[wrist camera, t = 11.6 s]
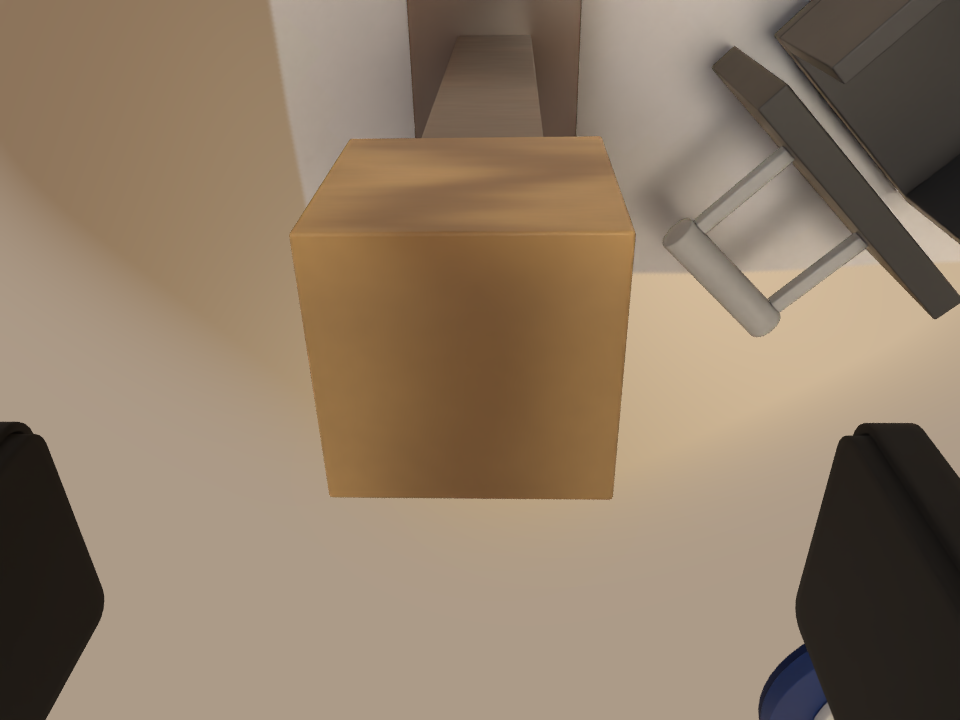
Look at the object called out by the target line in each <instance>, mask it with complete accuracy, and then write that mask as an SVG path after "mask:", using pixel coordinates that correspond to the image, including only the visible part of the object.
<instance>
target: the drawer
mask: <svg viewBox="0 0 960 720" xmlns="http://www.w3.org/2000/svg"><path fill="white" fill-rule="evenodd" d="M775 37H776V39H777V40H778V41H779V42H780V44H781V45H782V46H783V47H784V49H785V50H786V51H787V52H788V54H789V55H790V56H791V57H792V59H793V60H794V61H795V62H796V64H797V65H798V66H799V67H800V69H801V70H802V71H803V72H804V74H805V75H806V76H807V77H808V79H809V80H810V81H811V82H812V84H813V85H814V86H815V87H816V89H817V90H818V91H819V92H820V94H821V95H822V96H823V97H824V99H825V100H826V101H827V102H828V104H829V105H830V106H831V107H832V109H833V110H834V111H835V112H836V114H837V115H838V116H839V117H840V119H841V120H842V121H843V122H844V124H845V125H846V126H847V127H848V129H849V130H850V131H851V132H852V134H853V135H854V136H855V137H856V139H857V140H858V141H859V142H860V144H861V145H862V146H863V148H864V149H865V150H866V151H867V153H868V154H869V155H870V156H871V158H872V159H873V160H874V161H875V163H876V164H877V165H878V166H879V168H880V169H881V170H882V171H883V173H884V174H885V175H886V176H887V178H888V179H889V180H890V181H891V183H892V184H893V185H894V186H895V188H896V189H897V190H898V191H899V193H900V194H901V195H902V196H903V198H904V199H905V200H906V201H907V202H908V203H909V204H911V205H912V206H913V207H914V208H915V209H917V210H918V211H919V212H920V213H922V214H923V215H924V216H925V217H927V218H928V219H929V220H930V221H932V222H933V223H934V224H935V225H937V226H938V227H939V228H940V229H942V230H943V231H944V232H945V233H947V234H948V235H949V236H950V237H952V238H953V239H954V240H955V241H957V242H958V243H959V244H960V0H812V1H810V2H809V3H808V4H807V5H806V6H805V7H804V8H803V9H802V10H801V11H800V12H798V13H797V14H796V15H795V16H794V17H793V18H792V19H791V20H790V21H789V22H787V23H786V24H785V25H784V26H783V27H782V28H781V29H780V30H779V31H778V32H777V33H775ZM712 69H713V70H714V72H715V73H716V74H717V75H718V76H719V77H720V79H721V80H722V81H723V82H724V83H725V84H726V86H727V87H728V88H729V89H730V90H731V92H732V93H733V94H734V95H735V96H736V97H737V99H738V100H739V101H740V102H741V103H742V104H743V106H744V107H745V108H746V109H747V110H748V111H749V113H750V114H751V115H752V116H753V117H754V119H755V120H756V121H757V122H758V123H759V124H760V126H761V127H762V128H763V129H764V130H765V131H766V133H767V134H768V135H769V136H770V137H771V139H772V140H773V141H774V142H775V143H776V144H777V146H778V147H779V149H777V150H776V151H775V152H774V153H773V154H771V155H770V156H769V157H768V158H767V159H766V160H764V161H763V162H762V163H761V164H760V165H758V166H757V167H756V168H755V169H754V170H753V171H751V172H750V173H749V174H748V175H747V176H745V177H744V178H743V179H742V180H741V181H739V182H738V183H737V184H736V185H735V186H734V187H732V188H731V189H730V190H729V191H728V192H726V193H725V194H724V195H723V196H722V197H721V198H719V199H718V200H717V201H716V202H715V203H713V204H712V205H711V206H710V207H709V208H708V209H706V210H705V211H704V212H703V213H702V214H700V215H699V216H698V217H697V218H696V219H695V220H694V221H695V222H694V221H693V220H692V219H689V218H686V219H683V220H681V221H679V222H678V223H676V224H675V225H674V226H673V227H672V228H670V230H669V231H668V232H667V233H666V235H665V236H664V238H663V246H664V247H665V248H666V249H667V250H668V251H669V252H670V253H671V254H672V255H673V256H674V257H675V258H676V259H677V260H678V261H679V262H680V263H681V264H682V265H683V266H684V267H685V268H686V269H687V270H688V271H689V272H690V273H691V274H692V275H693V276H694V278H696V280H697V281H698V282H699V283H700V284H701V285H702V286H703V287H705V289H706V290H707V291H708V292H709V293H710V294H711V295H712V296H713V297H714V298H715V299H716V300H717V301H718V302H719V303H720V304H721V305H722V306H723V307H724V308H725V309H726V310H727V311H728V312H729V313H730V314H731V315H732V316H733V317H734V318H735V319H736V320H737V321H738V322H739V323H740V324H741V325H742V326H743V327H744V328H745V329H746V330H747V332H748V333H749V334H750V335H751V336H754V337H761V336H764V335H766V334H767V333H769V332H771V331H772V330H773V329H774V328H775V327H776V326H777V324H778V323H779V321H780V313H779V312H781V311H782V310H784V309H785V308H786V307H788V306H789V305H791V304H792V303H793V302H795V301H796V300H797V299H799V298H800V297H801V296H803V295H804V294H805V293H807V292H808V291H809V290H811V289H812V288H813V287H815V286H816V285H817V284H819V283H820V282H821V281H823V280H824V279H825V278H827V277H828V276H829V275H831V274H832V273H833V272H835V271H836V270H837V269H839V268H840V267H841V266H843V265H844V264H845V263H847V262H848V261H850V260H851V259H852V258H854V257H855V256H856V255H858V254H859V253H860V252H862V251H863V250H864V249H866V250H867V251H868V252H869V253H870V254H871V255H872V256H873V257H874V258H875V259H876V260H877V261H878V262H879V263H880V264H881V265H882V266H883V267H884V268H885V269H886V270H887V271H888V272H889V273H890V274H891V275H892V276H893V277H894V279H895V280H897V282H899V284H900V285H901V286H902V287H903V288H904V289H905V290H906V291H907V292H908V293H909V294H910V295H911V296H912V297H913V298H914V299H915V300H916V301H917V302H918V303H919V304H920V305H921V306H922V307H923V308H924V310H925V311H927V313H928V314H929V315H930V316H931V317H932V318H933V319H937V318H939V317H940V316H942V315H943V314H945V313H946V312H948V311H949V310H950V309H952V308H954V307H955V306H956V305H958V304H959V303H960V295H959V294H958V293H957V292H956V290H955V289H954V288H953V287H952V286H951V284H950V283H949V282H948V281H947V279H946V278H945V277H944V276H943V274H942V273H941V272H940V271H939V270H938V268H937V267H936V266H935V265H934V263H933V262H932V261H931V260H930V259H929V257H928V256H927V255H926V254H925V252H924V251H923V250H922V249H921V247H920V246H919V245H918V244H917V243H916V241H915V240H914V239H913V238H912V236H911V235H910V234H909V233H908V231H907V230H906V229H905V228H904V227H903V225H902V224H901V223H900V222H899V220H898V219H897V218H896V217H895V215H894V214H893V213H892V212H891V211H890V209H889V208H888V207H887V206H886V204H885V203H884V202H883V201H882V200H881V198H880V197H879V196H878V195H877V193H876V192H875V191H874V190H873V188H872V187H871V186H870V185H869V184H868V182H867V181H866V180H865V179H864V177H863V176H862V175H861V174H860V172H859V171H858V170H857V169H856V168H855V166H854V165H853V164H852V163H851V161H850V160H849V159H848V158H847V157H846V155H845V154H844V153H843V152H842V150H841V149H840V148H839V147H838V145H837V144H836V143H835V142H834V141H833V139H832V138H831V137H830V136H829V134H828V133H827V132H826V131H825V129H824V128H823V127H822V126H821V125H820V123H819V122H818V121H817V120H816V118H815V117H814V116H813V115H812V113H811V112H810V111H809V110H808V109H807V107H806V106H805V105H804V104H803V102H802V101H801V100H800V99H799V98H798V96H797V95H796V94H795V93H794V91H793V90H792V89H791V88H790V86H789V85H788V84H786V83H785V82H784V81H782V80H781V79H779V78H778V77H777V76H775V75H774V74H773V73H771V72H770V71H768V70H767V69H766V68H764V67H763V66H762V65H760V64H759V63H757V62H756V61H755V60H753V59H752V58H750V57H749V56H748V55H746V54H745V53H744V52H742V51H741V50H739V49H738V48H737V47H735V46H734V47H733V48H732V49H731V50H729V51H728V52H727V53H726V54H725V55H724V56H723V57H722V58H721V59H720V60H719V61H718V62H717V63H715V64H714V65H713V66H712ZM791 163H793V164H794V166H795V167H796V168H797V169H798V170H799V171H800V173H801V174H802V175H803V176H804V177H805V179H806V180H807V181H808V182H809V183H810V184H811V186H812V187H813V188H814V189H815V190H816V191H817V193H818V194H819V195H820V196H821V197H822V198H823V200H824V201H825V202H826V203H827V204H828V206H829V207H830V208H831V209H832V210H833V211H834V213H835V214H836V215H837V216H838V217H839V218H840V220H841V221H842V222H843V223H844V224H845V226H846V227H847V228H848V229H849V230H850V231H851V233H852V235H851V236H849V237H848V238H847V239H846V240H844V241H843V242H842V243H840V244H839V245H838V246H836V247H835V248H834V249H832V250H831V251H830V252H828V253H827V254H826V255H824V256H823V257H822V258H821V259H819V260H818V261H817V262H815V263H814V264H813V265H811V266H810V267H809V268H807V269H806V270H805V271H803V272H802V273H801V274H799V275H798V276H797V277H796V278H794V279H793V280H792V281H790V282H789V283H788V284H786V285H785V286H784V287H782V288H781V289H780V290H778V291H777V292H776V293H774V294H773V295H772V296H771V297H769V298H768V299H769V301H770V302H769V301H768V299H767V298H766V297H765V296H764V295H763V294H762V293H761V292H760V291H759V290H758V289H757V288H756V287H755V286H754V285H753V284H752V283H751V282H750V280H749V279H748V278H747V277H746V276H745V275H744V274H743V273H742V272H741V271H740V270H739V269H738V268H737V267H736V266H735V265H734V264H733V262H732V261H731V260H730V259H729V258H728V257H727V256H726V255H725V254H724V253H723V252H722V251H721V250H720V249H719V248H718V247H717V246H716V244H715V243H714V242H713V241H712V240H711V239H710V238H709V237H708V236H707V235H706V233H708V232H709V231H710V230H711V229H712V228H714V227H715V226H716V225H717V224H718V223H720V222H721V221H722V220H723V219H724V218H726V217H727V216H728V215H729V214H731V213H732V212H733V211H734V210H735V209H737V208H738V207H739V206H740V205H741V204H743V203H744V202H745V201H746V200H747V199H749V198H750V197H751V196H752V195H753V194H755V193H756V192H757V191H758V190H759V189H761V188H762V187H763V186H764V185H765V184H767V183H768V182H769V181H770V180H772V179H773V178H774V177H775V176H776V175H778V174H779V173H780V172H781V171H782V170H784V169H785V168H786V167H787V166H788V165H790V164H791Z"/></svg>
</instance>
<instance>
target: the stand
mask: <svg viewBox="0 0 960 720" xmlns="http://www.w3.org/2000/svg"><path fill="white" fill-rule="evenodd" d="M581 4H582V0H407V12H408V28H409V44H410V60H411V76H412V92H413V108H414V124H415V138H489V137H576V121H577V98H578V74H579V51H580V27H581Z"/></svg>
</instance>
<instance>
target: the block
mask: <svg viewBox="0 0 960 720" xmlns="http://www.w3.org/2000/svg"><path fill="white" fill-rule="evenodd" d="M635 236H636V233H635V231H634V228H633V225H632V222H631V219H630V216H629V214H628V211H627V208H626V205H625V202H624V199H623V197H622V194H621V191H620V188H619V185H618V182H617V180H616V177H615V174H614V171H613V168H612V165H611V163H610V160H609V157H608V154H607V151H606V148H605V146H604V143H603V140H602V137H600V136H585V137H489V138H393V139H350V140H349V142H348V143H347V145H346V146H345V148H344V149H343V151H342V152H341V154H340V156H339V157H338V159H337V160H336V162H335V163H334V165H333V167H332V168H331V170H330V171H329V173H328V174H327V176H326V178H325V179H324V181H323V182H322V184H321V185H320V187H319V189H318V190H317V192H316V193H315V195H314V196H313V198H312V199H311V201H310V203H309V204H308V206H307V207H306V209H305V210H304V212H303V214H302V215H301V217H300V218H299V220H298V221H297V223H296V225H295V226H294V228H293V229H292V231H291V232H290V235H289V237H290V244H291V250H292V257H293V262H294V269H295V275H296V282H297V289H298V295H299V301H300V308H301V315H302V321H303V327H304V334H305V340H306V347H307V354H308V360H309V366H310V373H311V379H312V386H313V392H314V399H315V404H316V412H317V418H318V424H319V431H320V437H321V444H322V450H323V456H324V463H325V469H326V476H327V482H328V489H329V495H330V497H359V498H360V497H361V498H481V499H482V498H483V499H491V498H492V499H604V500H605V499H606V500H609V499H612V497H613V487H614V476H615V464H616V453H617V442H618V430H619V419H620V406H621V395H622V384H623V373H624V362H625V351H626V339H627V328H628V316H629V305H630V304H629V303H630V292H631V282H632V271H633V259H634V248H635Z"/></svg>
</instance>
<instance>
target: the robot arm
mask: <svg viewBox="0 0 960 720" xmlns="http://www.w3.org/2000/svg"><path fill="white" fill-rule="evenodd" d="M103 608H104V593H103V589H102V586H101V583H100V581H99V578H98V576H97V573H96V571H95V568H94V565H93V563H92V560H91V558H90V556H89V553H88V550H87V547H86V545H85V542H84V540H83V537H82V535H81V532H80V529H79V527H78V524H77V522H76V519H75V516H74V514H73V511H72V509H71V506H70V503H69V501H68V498H67V496H66V493H65V490H64V488H63V485H62V483H61V480H60V477H59V475H58V472H57V470H56V467H55V465H54V462H53V459H52V457H51V454H50V451H49V449H48V446H47V444H46V442H45V440H44V439H43V438H42V437H41V436H40V435H36V434H33V432H32V431H31V429H30V428H29V427H28V426H27V425H26V424H24V423H20V422H0V720H46V718H47V716H48V714H49V712H50V711H51V709H52V707H53V705H54V703H55V701H56V700H57V698H58V696H59V694H60V692H61V691H62V689H63V687H64V685H65V683H66V681H67V680H68V678H69V676H70V674H71V672H72V671H73V668H74V667H75V665H76V663H77V661H78V659H79V658H80V656H81V654H82V652H83V650H84V649H85V647H86V645H87V643H88V641H89V640H90V638H91V636H92V634H93V632H94V630H95V629H96V627H97V625H98V623H99V621H100V619H101V616H102V612H103ZM796 618H797V623H798V627H799V630H800V633H801V635H802V638H803V640H804V643H805V646H806V648H807V651H808V653H809V656H810V659H811V661H812V664H813V666H814V669H815V672H816V674H817V677H818V679H819V682H820V684H821V687H822V690H823V692H824V695H825V697H826V700H827V703H826V704H825V705H824V706H823V707H822V708H821V710H820V711H819V712H818V714H817V715H816V716H815V718H814V720H960V478H959V477H958V475H957V474H956V473H955V471H954V470H953V469H952V468H951V466H950V465H949V463H948V462H947V461H946V460H945V458H944V457H943V455H942V454H941V453H940V451H939V450H938V449H937V448H936V446H935V445H934V443H933V442H932V441H931V440H930V438H929V437H928V436H927V434H926V433H925V431H924V430H923V429H922V428H921V427H920V426H919V425H916V424H913V423H864V424H861V425H859V426H858V427H857V429H856V430H855V432H854V434H853V436H844V437H842V439H841V440H840V441H839V443H838V446H837V449H836V453H835V457H834V460H833V464H832V468H831V472H830V475H829V479H828V483H827V486H826V490H825V494H824V497H823V501H822V504H821V509H820V512H819V515H818V519H817V523H816V527H815V530H814V534H813V537H812V541H811V545H810V549H809V552H808V556H807V559H806V563H805V567H804V570H803V574H802V578H801V581H800V585H799V589H798V592H797V597H796Z"/></svg>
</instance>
